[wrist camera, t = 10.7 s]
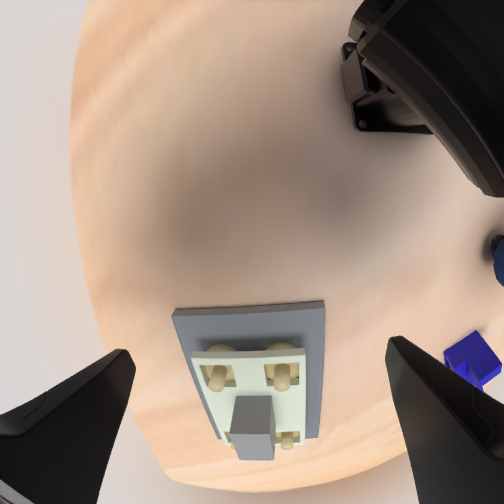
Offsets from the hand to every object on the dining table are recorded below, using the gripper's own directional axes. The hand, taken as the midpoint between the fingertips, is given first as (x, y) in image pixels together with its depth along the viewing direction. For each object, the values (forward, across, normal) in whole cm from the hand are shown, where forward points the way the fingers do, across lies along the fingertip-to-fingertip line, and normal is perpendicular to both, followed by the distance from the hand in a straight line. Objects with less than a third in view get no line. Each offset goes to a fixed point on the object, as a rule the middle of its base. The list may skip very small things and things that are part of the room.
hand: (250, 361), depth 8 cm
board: (+9, +2, +15) cm, 18 cm away
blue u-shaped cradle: (+12, -21, +18) cm, 31 cm away
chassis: (+12, +2, +15) cm, 19 cm away
